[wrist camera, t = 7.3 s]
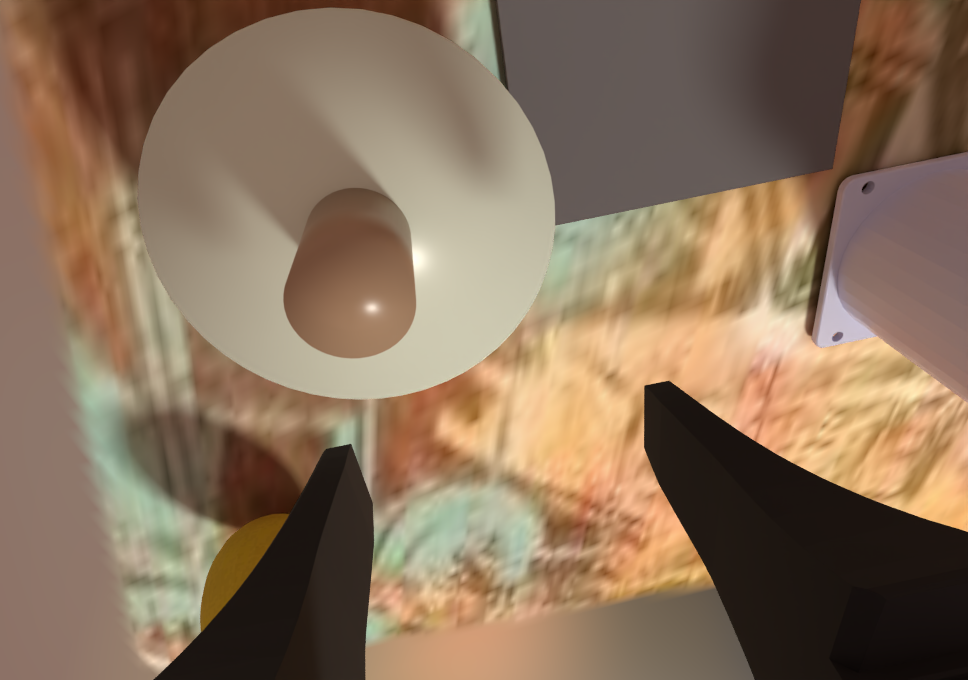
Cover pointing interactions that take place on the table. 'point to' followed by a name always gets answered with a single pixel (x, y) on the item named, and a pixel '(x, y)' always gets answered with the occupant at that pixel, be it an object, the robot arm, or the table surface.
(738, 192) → the table surface
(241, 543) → the lemon
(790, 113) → the mat
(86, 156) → the table surface
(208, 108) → the lid
